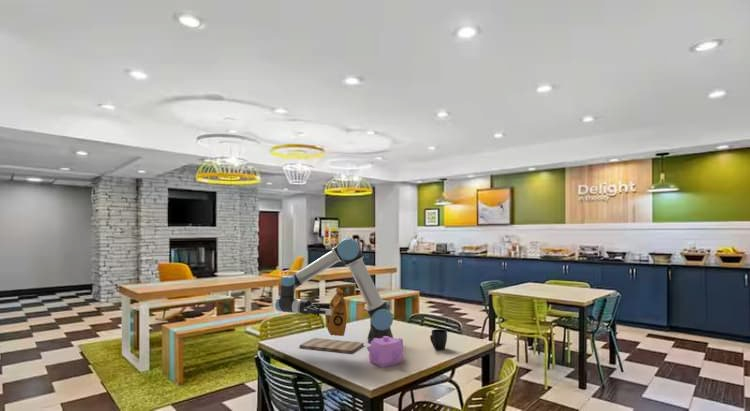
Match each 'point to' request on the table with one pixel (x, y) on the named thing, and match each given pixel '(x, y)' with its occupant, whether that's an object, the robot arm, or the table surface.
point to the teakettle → (386, 351)
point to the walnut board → (332, 345)
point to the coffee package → (337, 315)
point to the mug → (439, 339)
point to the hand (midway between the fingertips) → (337, 310)
